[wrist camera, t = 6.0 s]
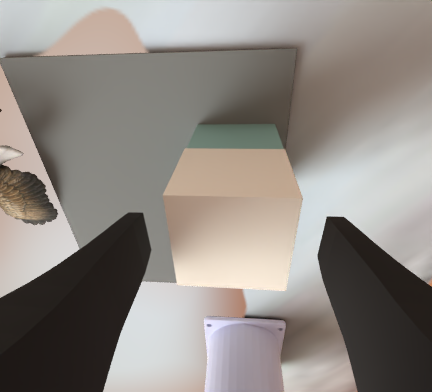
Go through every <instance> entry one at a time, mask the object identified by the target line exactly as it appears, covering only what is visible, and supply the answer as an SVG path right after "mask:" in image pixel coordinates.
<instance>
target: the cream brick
mask: <svg viewBox="0 0 432 392" xmlns="http://www.w3.org/2000/svg"><path fill="white" fill-rule="evenodd" d="M163 200H164V206H165V213H166V219H167V225H168V231H169V238H170V244H171V250H172V256H173V263H174V269H175V275H176V281H177V285H182V286H202V287H221V288H241V289H260V290H280V291H286V287H287V282H288V276H289V271H290V265H291V260H292V254H293V249H294V244H295V238H296V233H297V227H298V222H299V216H300V211H301V205H302V200H303V197H302V195H301V192H300V189H299V186H298V184H297V181H296V178H295V175H294V173H293V170H292V167H291V164H290V162H289V159H288V156H287V153H286V151H285V149H207V148H185V149H184V151H183V153H182V155H181V157H180V160H179V162H178V164H177V166H176V168H175V170H174V172H173V174H172V177H171V179H170V181H169V183H168V185H167V187H166V189H165V191H164V193H163Z"/></svg>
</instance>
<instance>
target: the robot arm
mask: <svg viewBox="0 0 432 392" xmlns="http://www.w3.org/2000/svg"><path fill="white" fill-rule="evenodd" d="M150 254H151V245H150V241H149V237H148V232H147V228H146V223H145V219H144V214H143V213H138V212H128V213H127V214H125V215H124V216H123V217H121V218H120V219H119V220H117V221H116V222H115V223H114V224H112V225H111V226H110V227H109V228H107V229H106V230H105V231H103V232H102V233H101V234H100V235H98V236H97V237H96V238H94V239H93V240H92V241H90V242H89V243H88V244H87V245H85V246H84V247H82V248H81V249H79V250H78V251H77V252H75V253H74V254H72V255H71V256H70V257H68V258H67V259H65V260H64V261H63V262H61V263H60V264H58V265H57V266H55V267H53V268H52V269H51V270H49V271H47V272H46V273H44V274H42V275H41V276H39V277H37V278H36V279H34V280H32V281H31V282H29V283H27V284H25V285H24V286H22V287H20V288H18V289H16V290H14V291H13V292H11V293H9V294H7V295H5V296H3V297H1V298H0V392H103V390H104V386H105V383H106V379H107V375H108V372H109V369H110V365H111V362H112V359H113V355H114V352H115V349H116V346H117V342H118V339H119V336H120V333H121V330H122V328H123V325H124V323H125V320H126V318H127V316H128V313H129V311H130V308H131V306H132V304H133V301H134V299H135V297H136V294H137V292H138V289H139V287H140V285H141V282H142V280H143V277H144V275H145V272H146V269H147V265H148V262H149V258H150ZM318 260H319V265H320V270H321V274H322V279H323V282H324V285H325V288H326V291H327V293H328V296H329V299H330V302H331V305H332V307H333V310H334V313H335V316H336V319H337V321H338V324H339V327H340V330H341V332H342V335H343V338H344V341H345V344H346V348H347V351H348V355H349V359H350V362H351V366H352V370H353V374H354V378H355V382H356V386H357V391H358V392H432V287H431V286H430V285H429V284H427V283H426V282H424V281H423V280H421V279H420V278H419V277H417V276H416V275H415V274H413V273H412V272H411V271H409V270H408V269H407V268H405V267H404V266H403V265H401V264H400V263H399V262H397V261H396V260H395V259H394V258H392V257H391V256H390V255H389V254H387V253H386V252H385V251H384V250H382V249H381V248H380V247H379V246H378V245H376V244H375V243H374V242H373V241H372V240H371V239H369V238H368V237H367V236H366V235H365V234H364V233H362V232H361V231H360V230H359V229H358V228H357V227H355V226H354V225H353V224H352V223H351V222H349V221H348V220H347V219H346V218H344V217H327V219H326V223H325V227H324V231H323V235H322V239H321V243H320V248H319V252H318ZM204 327H205V337H206V347H207V357H208V361H207V371H206V381H205V391H204V392H284V386H283V377H282V369H281V360H280V355H281V350H282V345H283V339H284V334H285V329H286V323H285V321H283V320H271V319H253V318H235V317H217V316H207V317H205V319H204Z"/></svg>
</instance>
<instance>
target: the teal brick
mask: <svg viewBox="0 0 432 392" xmlns="http://www.w3.org/2000/svg"><path fill="white" fill-rule="evenodd" d="M187 148H207V149H284V148H283V145H282V142H281V139H280V137H279V134H278V131H277V128H276V125H275V124H199V125H197V126H196V129H195V131H194V133H193V135H192V137H191V140H190V142H189V144H188V146H187Z"/></svg>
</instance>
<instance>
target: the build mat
mask: <svg viewBox="0 0 432 392" xmlns="http://www.w3.org/2000/svg"><path fill="white" fill-rule="evenodd" d="M296 54H297V48H282V49H252V50H221V51H190V52H160V53H129V54H99V55H68V56H37V57H7V58H0V64H1V66H2V69H3V71H4V73H5V76H6V78H7V80H8V83H9V85H10V87H11V89H12V92H13V94H14V97H15V99H16V101H17V103H18V105H19V108H20V111H21V113H22V115H23V118H24V120H25V122H26V125H27V127H28V129H29V132H30V134H31V136H32V139H33V141H34V143H35V145H36V148H37V150H38V153H39V155H40V157H41V160H42V162H43V164H44V167H45V169H46V171H47V174H48V176H49V178H50V180H51V183H52V185H53V188H54V190H55V192H56V194H57V197H58V199H59V201H60V204H61V206H62V208H63V211H64V213H65V216H66V218H67V220H68V223H69V225H70V227H71V230H72V232H73V234H74V237H75V239H76V241H77V243H78V246H79V248H80V249H81V248H82V247H84V246H85V245H87V244H88V243H89V242H90V241H92V240H93V239H94V238H96V237H97V236H98V235H100V234H101V233H102V232H103V231H105V230H106V229H107V228H109V227H110V226H111V225H112V224H114V223H115V222H116V221H117V220H119V219H120V218H121V217H123V216H124V215H125V214H127V213H128V212H138V213H143V214H144V219H145V223H146V228H147V232H148V237H149V241H150V245H151V254H150V258H149V262H148V265H147V269H146V272H145V275H144V277H143V280H142V281H149V282H170V283H177V281H176V275H175V269H174V263H173V256H172V250H171V244H170V238H169V231H168V225H167V219H166V213H165V206H164V200H163V193H164V191H165V189H166V187H167V185H168V183H169V181H170V179H171V177H172V174H173V172H174V170H175V168H176V166H177V164H178V162H179V160H180V157H181V155H182V153H183V151H184V149H185V148H187V146H188V144H189V142H190V140H191V137H192V135H193V133H194V131H195V129H196V126H197V125H199V124H275V125H276V128H277V131H278V134H279V137H280V139H281V142H282V145H283V148H284V149H285V148H286V139H287V131H288V122H289V114H290V105H291V96H292V88H293V79H294V71H295V62H296Z"/></svg>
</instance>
